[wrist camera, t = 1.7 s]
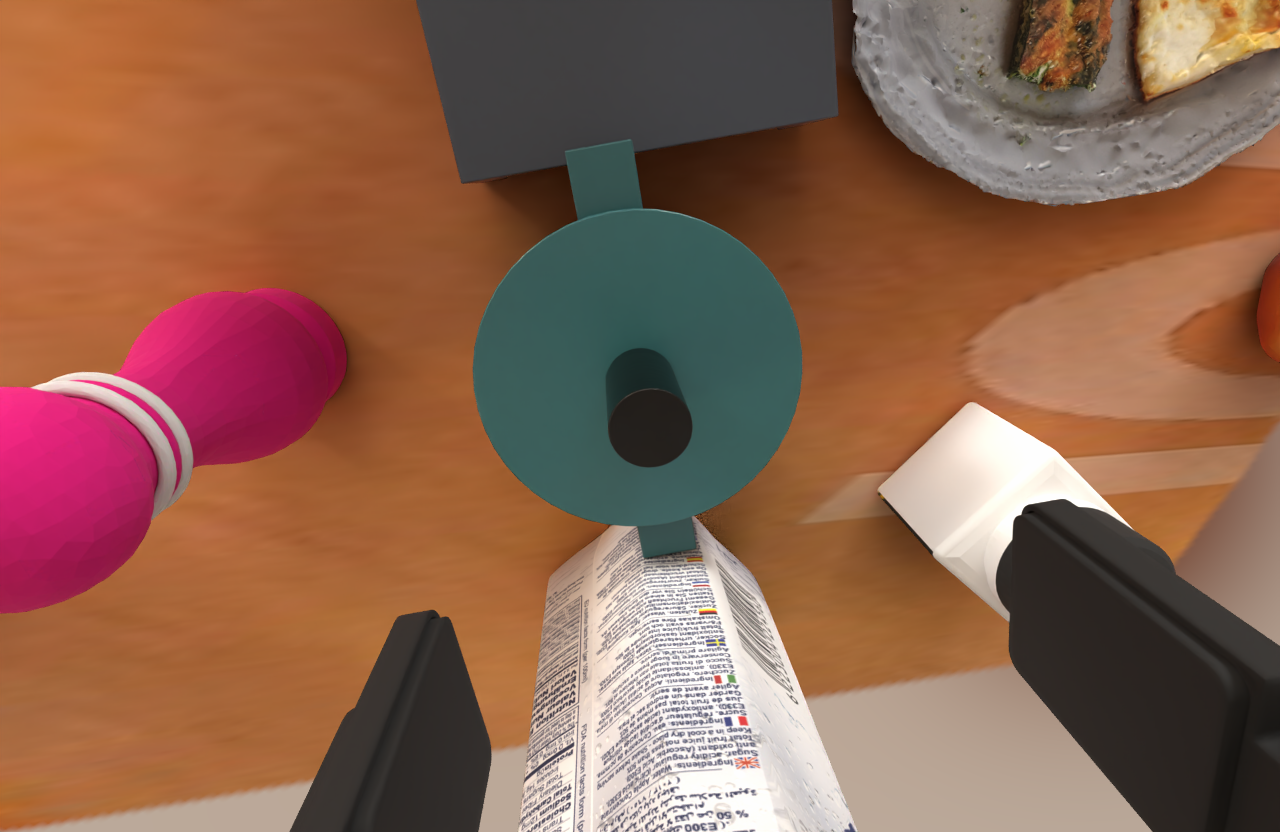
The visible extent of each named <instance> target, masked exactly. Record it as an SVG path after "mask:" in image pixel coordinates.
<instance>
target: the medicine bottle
mask: <svg viewBox="0 0 1280 832" xmlns="http://www.w3.org/2000/svg"><path fill="white" fill-rule="evenodd" d="M877 492H878V495H879V496H880V497H881V498H882V500H883V501H884V502H885V503H886V504H887V505H888V506H889V507H890V509H891V510H892V511H893V512H894V513H895V514H896V515H897V516H898V518H899V519H900V520H901V521H902V522H903V523H904V524H905V525H906V527H907V528H908V529H909V530H910V531H911V532H912V533H913V534H914V536H915V537H916V538H917V539H918V540H919V541H920V542H921V543H922V545H923V546H924V547H925V548H926V549H927V550H928V551H929V552H930V554H931V555H932V556H933V557H934V558H935V559H936V560H937V561H938V562H940V563H941V564H942V565H943V566H944V567H945V568H947V569H948V570H949V571H950V572H951V573H952V574H953V575H955V576H956V577H957V578H958V579H959V580H960V581H962V582H963V583H964V584H965V585H966V586H967V587H969V588H970V589H971V590H972V591H973V592H974V593H975V594H977V595H978V596H979V597H980V598H981V599H982V600H984V601H985V602H986V603H987V604H988V605H989V606H991V607H992V608H993V609H994V610H995V611H996V612H997V613H999V614H1000V615H1001V616H1002V617H1003V618H1004V619H1006V620H1007V621H1008V622H1009V621H1010V592H1011V563H1012V534H1013V521H1014V519H1015V517H1016V516H1018V515H1021V513H1022V510H1023V508H1024V507H1025V506H1026V505H1028V504H1033V503H1039V502H1045V501H1050V500H1056V499H1066V500H1069V501H1071V502H1072V503H1073V504H1075V505H1076V506H1078V507H1079V508H1081V509H1082V510H1084V511H1085V512H1087V513H1088V514H1089V515H1091V516H1092V517H1094V518H1095V519H1097V520H1098V521H1100V522H1101V523H1102V524H1104V525H1105V526H1107V527H1108V528H1110V529H1111V530H1113V531H1114V532H1115V533H1117V534H1118V535H1120V536H1121V537H1123V538H1124V539H1126V540H1127V541H1128V542H1130V543H1131V544H1133V545H1134V546H1136V547H1137V548H1139V549H1140V550H1142V551H1143V552H1144V553H1146V554H1147V555H1149V556H1150V557H1152V558H1153V559H1155V560H1156V561H1157V562H1159V563H1160V564H1162V565H1163V566H1165V567H1166V568H1168V569H1169V570H1170V571H1172V572H1173V573H1175V569H1174V566H1173V563H1172V562H1171V560H1170V558H1169V556H1168V555H1167V554H1166V553H1165V551H1163V550H1162V549H1161V548H1160V547H1159V546H1157V545H1156V544H1154V543H1153V542H1151V541H1150V540H1148V539H1146V538H1145V537H1143V536H1142V535H1140V534H1139V533H1137V532H1136V531H1134V530H1133V529H1132V528H1131V527H1130V526H1129V525H1128V524H1127V523H1126V522H1125V521H1124V520H1123V519H1122V518H1121V516H1120V515H1119V514H1118V513H1117V512H1116V511H1115V510H1114V509H1113V508H1112V507H1111V506H1110V505H1109V504H1108V503H1107V502H1106V501H1105V500H1104V499H1103V498H1102V497H1101V496H1100V495H1099V494H1098V493H1097V492H1096V491H1095V490H1094V489H1093V488H1092V487H1091V486H1090V485H1089V484H1088V483H1087V482H1086V481H1085V480H1084V479H1083V478H1082V477H1081V476H1080V475H1079V474H1078V473H1077V472H1076V471H1075V470H1074V469H1073V468H1072V467H1071V466H1070V465H1069V464H1068V463H1067V462H1066V461H1065V460H1064V459H1063V458H1062V457H1061V456H1060V455H1059V454H1058V453H1057V452H1056V451H1055V450H1054V449H1052V448H1051V447H1049V446H1047V445H1046V444H1044V443H1042V442H1040V441H1039V440H1037V439H1035V438H1034V437H1032V436H1030V435H1029V434H1027V433H1025V432H1024V431H1022V430H1020V429H1019V428H1017V427H1015V426H1014V425H1012V424H1010V423H1009V422H1007V421H1005V420H1004V419H1002V418H1000V417H999V416H997V415H995V414H993V413H992V412H990V411H988V410H987V409H985V408H983V407H982V406H980V405H978V404H977V403H975V402H969V403H967V404H966V405H965V406H964V407H963V408H962V409H961V410H960V411H959V412H958V413H957V414H955V415H954V416H953V417H952V418H951V419H950V420H949V421H948V422H947V423H946V424H945V425H944V426H943V427H942V428H941V429H940V430H939V431H938V432H936V433H935V434H934V435H933V436H932V437H931V438H930V439H929V440H928V441H927V442H926V443H925V444H924V445H923V446H922V447H921V448H920V449H919V450H917V451H916V452H915V453H914V454H913V455H912V456H911V457H910V458H909V459H908V460H907V461H906V462H905V463H904V464H903V465H902V466H901V467H899V468H898V469H897V470H896V471H895V472H894V473H893V474H892V475H891V476H890V477H889V478H888V479H887V480H886V481H885V482H884V483H883V484H882V485H880V486H879V488H878V491H877ZM1175 574H1176V573H1175Z"/></svg>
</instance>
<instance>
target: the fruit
mask: <svg viewBox="0 0 1280 832" xmlns="http://www.w3.org/2000/svg"><path fill="white" fill-rule="evenodd" d="M1257 327H1258V333H1259V339H1260V344H1261V346H1262V348H1263V349H1264V351H1265V353H1266V354H1267V355H1268V356H1269V357H1270V358H1272V359H1274V360H1275V361H1277V362H1279V363H1280V253H1279V254H1278V255H1277V256H1276V257H1275V258H1274V259H1273V260H1272V262H1271V263H1270V265H1269V266H1268V267H1267V269H1266V271H1265V274H1264V278H1263V281H1262V288H1261V293H1260V298H1259V303H1258V308H1257Z"/></svg>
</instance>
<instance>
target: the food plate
mask: <svg viewBox="0 0 1280 832" xmlns="http://www.w3.org/2000/svg"><path fill="white" fill-rule="evenodd" d="M854 13H856V15H857V16H858V18H857V20H856V25H854V32H855V33H856V37H857V39H856V45H857V51H856V53H855V39H854V33H853V46H852V65H853V67H854V69H855V72H856V74H857V76H858V78H859V80H860V82H861V86H862V87H863V90H864V92H865V94H866V95H867V96H868V97H869V99H868V100H871V101H872V106H873V108H875V110H876V112H877V115H878V116H879V117H881V118H882V120H883V122H884V124H885V125H886V127H887V128H889V129H890V131H891V132H892V133H893V134H894V135H895V136H896V137H897V138H899V139H900V140H901V141H902V142H904V143H905V145H906V146H907V147H908V148H909V149H910V150H911V151H912V153H913V152H914V153H916V154H917V155H922V157H923V158H925V157H926V161H928V162H929V161H930V162H931V163H933V164H935V165H936V166H937V167H944V168H945V169H947V170H951V171H953V172H954V173H956V175H958V177H962V178H963V179H965V180H968V181H967V182H971V183H972V184H973V185H974V184H976V186H977V185H978V186H979V189H982V190H983V192H992V194H997V196H998V195H999V194H1000V196H1002V197H1004V198H1013V199H1018V200H1023V201H1024V202H1026V201H1028V202H1029V201H1031V202H1032V201H1033V202H1036V203H1042V204H1044V205H1050V204H1056V205H1059V204H1062V203H1064V204H1065V205H1067V204H1070V206H1072V205H1073V204H1074V203H1080V204H1086V203H1093V202H1099V201H1104V200H1109V199H1118V198H1124V197H1130V196H1136V195H1142V194H1148V193H1153V192H1158V191H1160V190H1161V191H1165V190H1167V189H1178V188H1179V187H1184V186H1185V185H1188V184H1191V183H1192V181H1195V180H1197V179H1198V178H1200V177H1202V176H1204V175H1205V174H1206V173H1207V172H1209V171H1210V170H1212V169H1213V168H1214V166H1215V167H1216V166H1219V165H1220V164H1221V163H1223V162H1224V161H1226V160H1227V159H1228V158H1229V157H1230V156H1231V155H1232V154H1235V153H1236V154H1237V153H1238V152H1242V151H1244V150H1245V149H1246V148H1247V147H1250V145H1252V146H1254V144H1255V143H1256V142H1257V141H1258V140H1259V139H1260V141H1261V140H1262V138H1263V136H1264V135H1265V134H1266V133H1268V132H1269V131H1270V130H1272V129H1273V128H1274V127H1275V126H1277V125H1279V124H1280V0H853V14H854ZM853 16H854V15H853ZM1080 204H1079V205H1080ZM1056 205H1050V206H1056Z"/></svg>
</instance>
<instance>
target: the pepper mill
mask: <svg viewBox="0 0 1280 832" xmlns="http://www.w3.org/2000/svg"><path fill="white" fill-rule="evenodd" d="M346 364H347V358H346V349H345V344H344V341H343V338H342V336H341V334H340V332H339V330H338V328H337V326H336V325H335V323H334V322H333V320H332V319H331V318H330V317H329V316H328V314H327V313H326V312H325V311H324V310H323V309H322V308H320V307H319V306H318V305H316V304H315V303H314V302H312V301H311V300H309V299H307V298H306V297H304V296H301V295H299V294H297V293H294V292H291V291H288V290H283V289H276V288H262V289H256V290H252V291H249V292H246V293H240V292H231V291H223V292H209V293H205V294H200V295H196V296H194V297H191V298H189V299H187V300H184V301H182V302H180V303H179V304H177V305H175V306H173V307H171V308H169V309H168V310H166V311H164V312H162V313H161V314H160V315H159V316H157V317H156V318H155V319H154V320H153V321H152V322H151V323H150V324H149V325H148V326H147V327H146V328H145V329H144V331H143V332H142V333H141V334H140V336H139V337H138V338H137V339H136V341H135V342H134V344H133V346H132V348H131V350H130V352H129V354H128V356H127V358H126V360H125V362H124V364H123V366H122V368H121V369H120V371H119V372H117V373H115V374H114V375H111V374H104V373H98V372H80V373H72V374H67V375H64V376H61V377H57V378H55V379H53V380H51V381H49V382H48V383H42V384H39V385H37V386H34V387H31V388H29V387H0V613H19V612H27V611H31V610H35V609H39V608H43V607H47V606H50V605H53V604H56V603H60V602H63V601H65V600H67V599H70V598H72V597H74V596H76V595H78V594H80V593H83V592H85V591H87V590H88V589H90V588H91V587H93V586H95V585H96V584H98V583H100V582H101V581H103V580H104V579H106V578H108V577H109V576H110V575H111V574H112V573H114V572H115V571H116V570H117V569H118V568H119V567H121V566H122V565H123V564H124V563H125V562H126V561H127V560H128V559H129V558H130V557H131V556H132V555H133V554H134V552H135V551H136V549H137V548H138V546H139V545H140V543H141V542H142V540H143V539H144V537H145V535H146V532H147V530H148V528H149V526H150V524H151V520H153V519H154V518H155V517H156V516H157V515H158V514H160V513H161V512H162V511H163V510H165V509H166V508H168V507H170V506H171V505H172V504H173V503H175V502H176V501H177V500H178V499H179V497H180V496H181V495H182V494H183V492H184V491H185V489H186V488H187V486H188V483H189V481H190V478H191V474H192V469H193V468H194V467H197V466H201V465H216V464H234V463H241V462H246V461H250V460H254V459H258V458H262V457H265V456H268V455H271V454H274V453H276V452H278V451H280V450H281V449H283V448H285V447H287V446H289V445H290V444H292V443H293V442H295V441H296V440H298V439H299V438H301V437H302V436H303V435H304V434H305V433H307V432H308V431H309V430H310V429H311V427H312V426H313V425H314V423H315V422H316V421H317V419H318V417H319V416H320V414H321V412H322V410H323V407H324V405H325V402H326V401H327V400H328V399H330V398H331V397H332V396H333V395H334V394H335V392H336V391H337V390H338V388H339V387H340V385H341V383H342V380H343V378H344V376H345V371H346Z"/></svg>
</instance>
